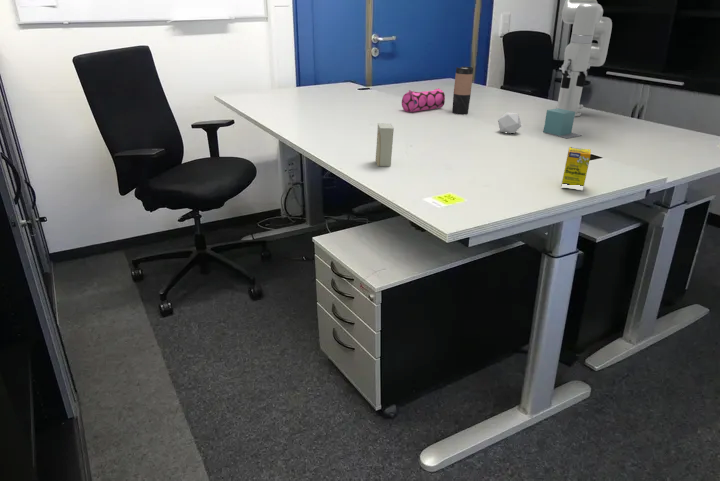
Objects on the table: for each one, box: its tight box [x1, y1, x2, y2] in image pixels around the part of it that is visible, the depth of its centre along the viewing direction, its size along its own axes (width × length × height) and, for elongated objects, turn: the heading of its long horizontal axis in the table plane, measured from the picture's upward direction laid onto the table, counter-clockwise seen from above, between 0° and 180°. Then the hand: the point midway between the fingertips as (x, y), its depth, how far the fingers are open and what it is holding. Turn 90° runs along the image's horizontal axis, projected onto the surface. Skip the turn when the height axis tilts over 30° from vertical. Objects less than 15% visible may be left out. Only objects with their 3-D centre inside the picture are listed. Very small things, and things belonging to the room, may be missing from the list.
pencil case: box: [401, 88, 446, 113], centre depth 250 cm, size 21×10×10 cm, turn 131°
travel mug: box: [451, 66, 474, 115], centre depth 245 cm, size 8×8×20 cm
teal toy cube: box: [542, 108, 575, 136], centre depth 217 cm, size 8×8×9 cm
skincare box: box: [375, 122, 395, 167], centre depth 169 cm, size 6×4×12 cm
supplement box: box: [561, 146, 592, 186], centre depth 154 cm, size 6×6×11 cm
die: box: [497, 111, 522, 134], centre depth 214 cm, size 8×9×10 cm
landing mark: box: [545, 132, 582, 139], centre depth 217 cm, size 10×10×1 cm
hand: (572, 87), depth 209 cm, fingers open, 9 cm apart
